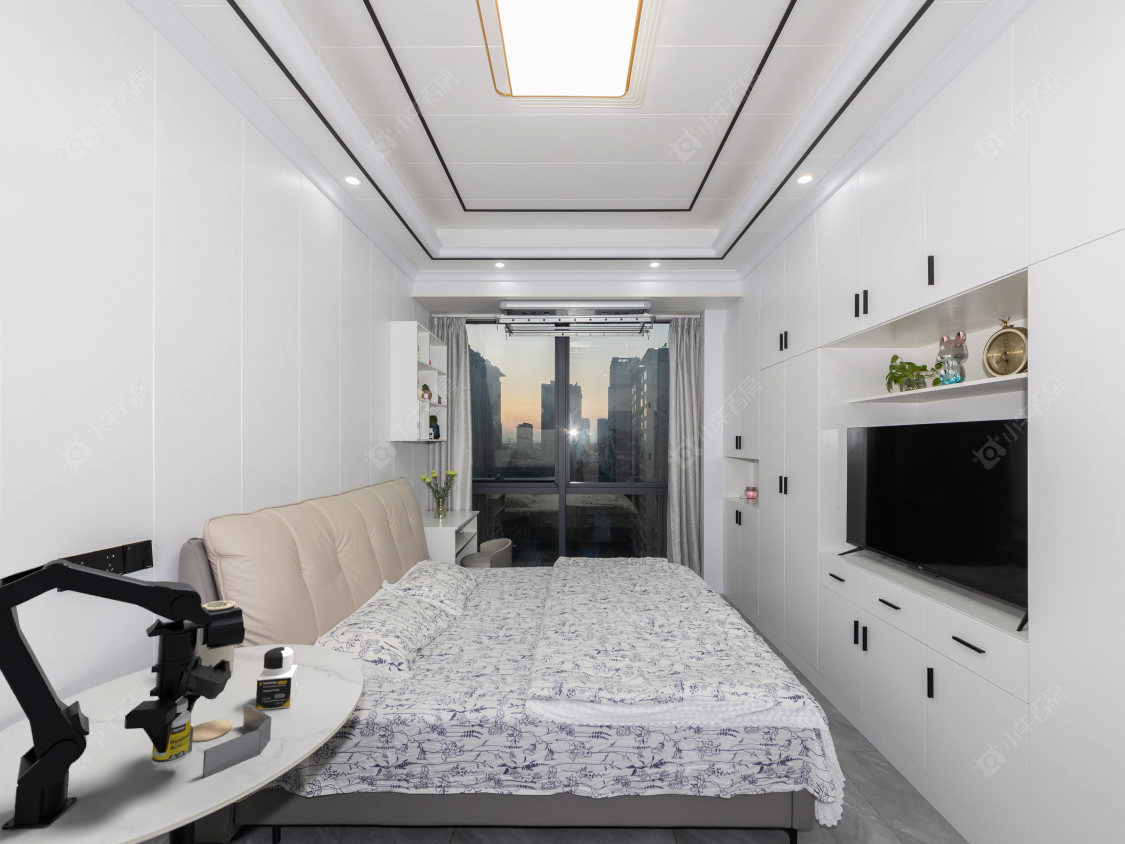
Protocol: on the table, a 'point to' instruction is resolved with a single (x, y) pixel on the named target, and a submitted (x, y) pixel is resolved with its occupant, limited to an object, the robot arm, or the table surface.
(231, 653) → the travel mug
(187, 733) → the supplement bottle
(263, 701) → the medicine bottle
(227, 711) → the table surface
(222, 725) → the coaster
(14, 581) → the robot arm
